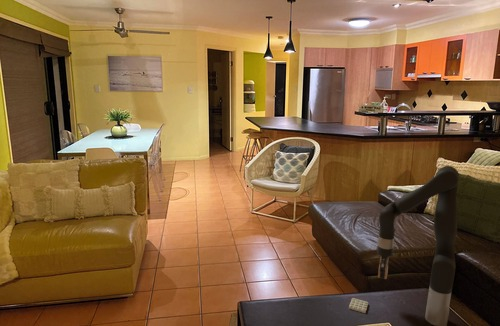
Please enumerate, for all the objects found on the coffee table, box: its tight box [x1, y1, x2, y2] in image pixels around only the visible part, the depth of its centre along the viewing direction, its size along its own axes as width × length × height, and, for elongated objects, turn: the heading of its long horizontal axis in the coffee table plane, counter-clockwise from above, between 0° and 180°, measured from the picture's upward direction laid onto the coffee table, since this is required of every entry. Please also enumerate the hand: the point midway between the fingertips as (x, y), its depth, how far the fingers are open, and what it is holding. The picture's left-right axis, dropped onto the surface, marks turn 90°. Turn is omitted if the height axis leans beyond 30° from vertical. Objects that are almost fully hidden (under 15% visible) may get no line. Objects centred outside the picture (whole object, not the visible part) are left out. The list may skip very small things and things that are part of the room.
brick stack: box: [377, 264, 389, 280], centre depth 182 cm, size 4×4×6 cm
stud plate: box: [348, 297, 369, 314], centre depth 182 cm, size 8×8×2 cm
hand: (382, 275), depth 183 cm, fingers closed on brick stack, 4 cm apart
